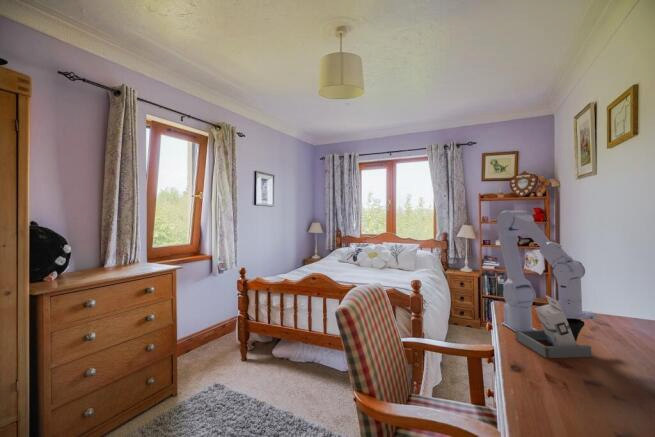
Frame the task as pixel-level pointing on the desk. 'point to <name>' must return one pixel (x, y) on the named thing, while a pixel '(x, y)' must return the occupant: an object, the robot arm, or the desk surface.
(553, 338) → the ink box
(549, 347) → the frame
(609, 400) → the desk surface
